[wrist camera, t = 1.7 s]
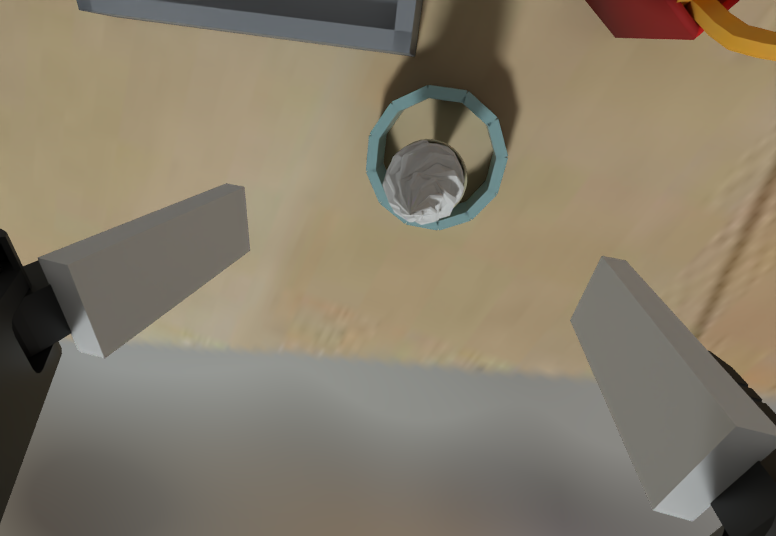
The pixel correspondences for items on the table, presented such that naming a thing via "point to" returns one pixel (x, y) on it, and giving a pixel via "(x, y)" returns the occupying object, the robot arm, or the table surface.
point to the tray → (286, 19)
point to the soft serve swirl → (425, 181)
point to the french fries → (685, 23)
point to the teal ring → (496, 168)
